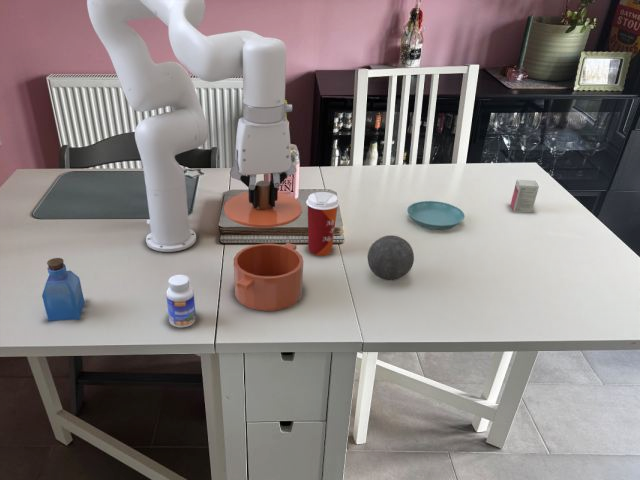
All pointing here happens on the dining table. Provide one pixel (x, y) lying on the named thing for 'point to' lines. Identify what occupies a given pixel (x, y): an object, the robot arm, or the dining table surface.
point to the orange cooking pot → (268, 276)
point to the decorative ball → (390, 257)
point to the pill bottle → (180, 301)
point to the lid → (263, 208)
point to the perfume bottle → (62, 292)
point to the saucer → (435, 215)
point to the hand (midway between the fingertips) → (262, 204)
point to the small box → (524, 195)
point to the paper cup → (321, 222)
